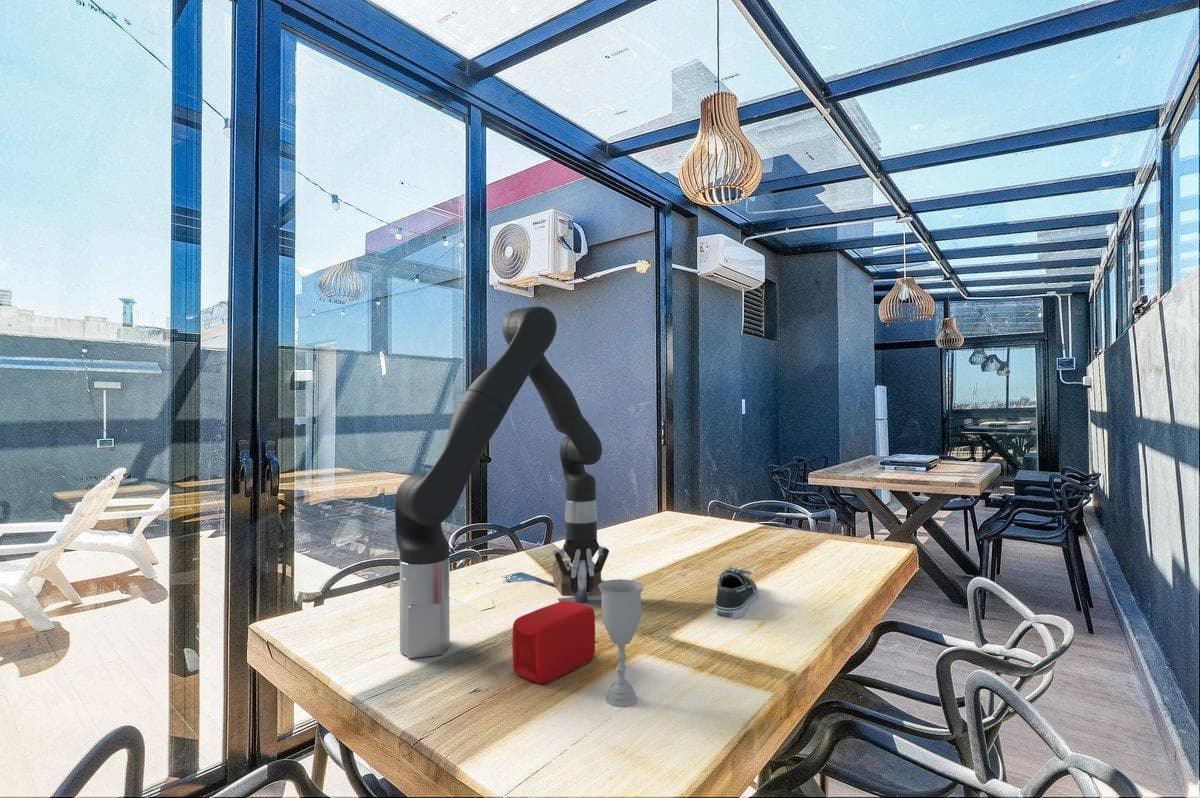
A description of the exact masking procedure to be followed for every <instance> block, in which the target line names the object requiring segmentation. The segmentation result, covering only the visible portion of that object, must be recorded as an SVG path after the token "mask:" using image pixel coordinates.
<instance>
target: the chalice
mask: <svg viewBox="0 0 1200 798" xmlns="http://www.w3.org/2000/svg"><path fill="white" fill-rule="evenodd" d="M598 586H599V588H600V590H601V592H600V593H601V599H602V604H601V618H602V622H603V625H604V626H605V627H604V628H605V630H606V631H607V633H608V635H609V638H610V640H611V642H612V643H613V644H615V645H617V648H618V651H617V654H616V656H615V657H616V659H617V662H618V664H617V666H616V667H615V669H616V671H617V674H618V678H617V680H616V681H614V682H612V684H611V685H610V686H609V690H608V692H607V695H606V697H605V701H606V703H607V704H609V705H610V706H613V707H618V708H627V707H630V706H634V705H635V704H637V702H638V696H637V695H636V691H635V689H634V687H633V685H632V684H631V683H630V682H629V681H627V680H626V678H625V675H626V671H628V667H627V666H626V664H625V662H626V659H627V655H626V653H625V652H626V651H625V647H626V645H629V644H630V643H631V641H632V639H633V637H634V635H635V633H636V631H637V629H638V626H639V623H640V620H641V617H642V607H641V606H642V600H641V599H642V596H641V594H642V592H643V590H644V587H645V584H643V583H642V582H640V581H636V580H634V579H621V578H618V579H609V580H605V581H601V583H600V584H599V585H598Z"/></svg>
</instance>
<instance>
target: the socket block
mask: <svg viewBox="0 0 1200 798" xmlns="http://www.w3.org/2000/svg"><path fill="white" fill-rule="evenodd" d="M563 562H564V564H565V566H566V569H568V570H569V566H570V565H569V563H570V560H563ZM595 564H596V562H595V561H593V567H594V566H595ZM593 582H594V584H593V585H594V587H593V589H591V592H588V594H595V593H602V592H601V590H600V588H599V586H598V585H599V584H600V583H602V572H601V573H597V574H595V575H594V577H593ZM552 583H553V584H554V586H555V587H556V588H555V587H554V588H555V589H556V590H557V592H558V593H559V594H560V595H561V596H575V594H573V593H572V591H571V590H570V589H569V576H564V575H563V573H562V572H561V570H560V568H559V566H558V564H557V561H552Z"/></svg>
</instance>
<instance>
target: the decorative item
mask: <svg viewBox="0 0 1200 798" xmlns="http://www.w3.org/2000/svg"><path fill="white" fill-rule="evenodd" d="M595 614H596V613H595V610H594V609H593V608H592V606H586V605H583V604H580V603H576V602H571V601H561V602H559V601H558V602H554V603H552V604H549V605H546V606H543V607H540V608H539V609H535V610H533V611H531V612H528V613H526V614H523V615H521V616H519V617H517V618H516V619H515V620H514V621H513V625H512V638H511V639H512V640H511V643H512V644H511V645H512V646H511V648H512V649H511V651H512V653H511V654H512V669H513V672H514V674H516V675H517V676H520V677H522V678H524V679H526V680H529V681H531V682H535V683H539V684H547V683H550V682H553V681H554V680H556V679H559V678H560V677H563V676H565V675H566V674H567V675H568V674H570V673H571V672H572V671H574V669H575V670H577V669H578V668H580V667H581V666H583V665H586V664H587V663H589V662H590V661H591V660H592V659H593V658H594V656H595V652H596V615H595Z"/></svg>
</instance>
